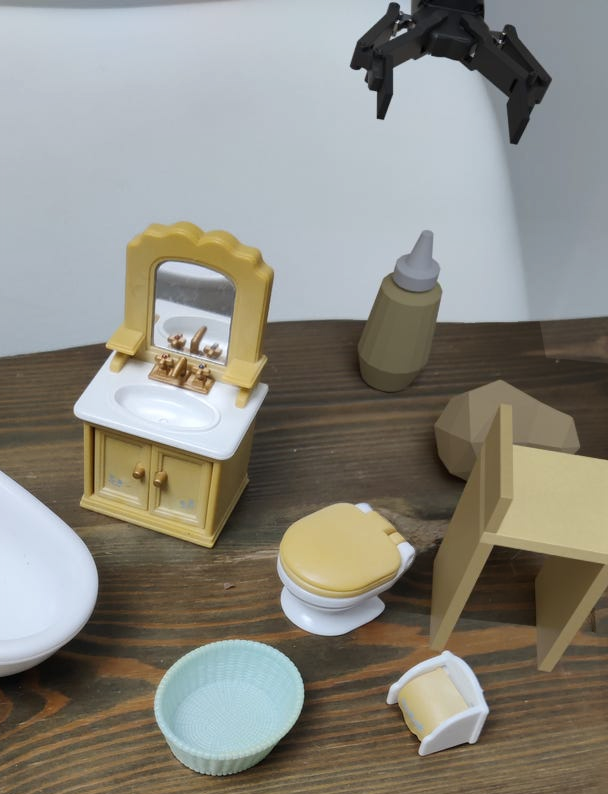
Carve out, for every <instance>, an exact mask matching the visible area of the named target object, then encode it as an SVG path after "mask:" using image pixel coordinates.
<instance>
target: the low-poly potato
mask: <svg viewBox="0 0 608 794" xmlns="http://www.w3.org/2000/svg"><path fill="white" fill-rule="evenodd" d="M500 404H506V405H511V406H512V431H513V445H518V446H524V447H530V448H536V449H542V450H548V451H554V452H560V453H567V454H573V455H576V453H577V452H578V450H579V449H581V444H580V440H579V436H578V433H577V429H576V424H575V420H574V417H572V416H571V415H570V414H567V413H565V412H562V411H560V410H557V409H555V408H553V407H551V406H549V405H547V404H545V403H543V402H541V401H540V400H538V399H536V398H535V397H532V396H530V395H529V394H527V393H525V392H524V391H522V390H520V389H518V388H516V387H515V386H514V385H512V384H509V383H508V382H507V381H504V380H502V379H498V380H496V381H492V382H490V383H487V384H485V385H481V386H479V387H476V388H474V389H471V390H468V391H466V392H463V393H460V394H458V395H455V396H453V397H451V398H450V400H449V401H448V402H447V404H446V406H445V408H444V409H443V411H442V412H441V414H440V415H439V417H438V419H437V420H436V421H435V423H434V425H433V427H434V429H433V430H434V435H435V440H436V447H437V453H438V457H439V459H440V460H441V462H442V463H443V465H444V466H445V468H446V469H447V470H448V472H449V474H451V475H452V476H455V477H458V478H460V479H462V480H464V481H466V482H467V481H468V479H469V477H470V474H471V472H472V469H473V467H474V465H475V462H476V460H477V458H478V455H479V453H480V451H481V448H482V446H483V443H484V441H485V439H486V436H487V434H488V432H489V429H490V427H491V425H492V422H493V420H494V417H495V415H496V413H497V410H498V408H499V406H500Z"/></svg>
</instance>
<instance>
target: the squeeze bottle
mask: <svg viewBox="0 0 608 794" xmlns="http://www.w3.org/2000/svg"><path fill="white" fill-rule="evenodd" d="M433 248H434V232H433V231H432V230H429V229H424V230H423V231H421V233H420V235H419V237H418V238H417V241H416V242H415V244H414V245H413V248H412V250H411V251H410V253H407V254H403V255H401V256H400V257H398V258H397V259H396V262H395V265H394V268H393V272H392V271H391V272H390V273H388V274H387V275H385V276H384V277H383V278H382V281H381V283H380V286H379V289H378V291H377V294H376V296H375V299H374V301H373V304H372V306H371V309H370V312H369V315H368V318H367V320H366V322H365V326H364V328H363V330H362V333H361V336H360V338H359V342H358V344H357V353H358V362H359V370H360V374H361V378H362V380H363V381H364V382H365V383H366V384H367V385H368V386H370V387H371V388H374V389H376V390H378V391H381V392H382V391H383V392H388V393H389V392H392V393H393V392H399V391H402V390H405V389H406V388H408V387H409V386H410V385H412V383H413V381H415V379H416V378H417V376H418V375H419V374H420V373H421V372H422V370H423V369H424V368H425V367H426V365H427V364H428V362H429V358H430V354H431V350H432V345H433V340H434V335H435V331H436V330H435V329H436V325H437V321H438V316H439V315H438V314H439V310H440V306H441V301H442V296H443V288H442V286H441V284H440V282H438V279H439V276H440V272H441V266H440V263H439V262H437V260H435V259H434V258H433V251H434V249H433Z"/></svg>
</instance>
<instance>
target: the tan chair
mask: <svg viewBox="0 0 608 794" xmlns="http://www.w3.org/2000/svg"><path fill="white" fill-rule="evenodd" d="M494 546H500V547H505V548H511V549H517V550H523V551H529V552H534V553H540V554H546V555H548V556H547V558H546V559H545V561H544V563H543V565H542V567H541V568H540V570H539V572H538V574H537V576H536V577H535V580H534V591H535V592H534V594H535V596H534V597H535V599H534V600H535V629H536V630H535V632H536V664H537V671H542V672H547V673H551V672H552V671H553V670H554V668H555V666H556V665H557V663H558V662H559V661H560V659H561V657H562V656H563V654H564V653H565V651H566V650H567V648H568V647H569V645H570V644H571V642H572V641H573V639H574V637H575V636H576V635H577V633H578V632H579V630H580V629H581V627H582V626H583V624H584V622H585V621H586V620H587V618H588V616H589V615H590V613H591V612H592V610H593V609H594V607H595V606H596V604H597V603H598V601H599V600H600V598H601V597H602V595H603V594H604V592H605V591H606V589H607V587H608V459H602V458H596V457H591V456H584V455H578V454H574V455H573V454H567V453H560V452H554V451H548V450H542V449H536V448H530V447H524V446H518V445H513V431H512V406H511V405H506V404H500V406H499V408H498V410H497V413H496V415H495V417H494V420H493V422H492V425H491V427H490V429H489V432H488V434H487V436H486V439H485V441H484V443H483V446H482V448H481V451H480V453H479V455H478V458H477V460H476V462H475V465H474V467H473V469H472V472H471V474H470V477H469V479H468V481H466V484H465V486H464V489H463V491H462V493H461V496H460V498H459V501H458V503H457V505H456V508H455V510H454V512H453V515H452V517H451V519H450V522H449V524H448V526H447V529H446V531H445V533H444V536H443V538H442V541H441V543H440V546H439V548H438V550H437V553H436V555H435V557H434V561H433V566H432V567H433V568H432V586H431V590H432V591H431V603H430V604H431V606H430V625H429V626H430V627H429V645H428V649H429V650H430V651H435V652H441V653H442V652H443V651H444V649H445V647H446V644H447V643H448V642H449V641H448V640H449V638H450V636H451V635H452V633H453V630H454V628H455V626H456V624H457V622H458V620H459V618H460V616H461V614H462V613H463V609H464V608H465V606H466V603H467V601H468V599H469V598H470V595H471V593H472V592H473V589H474V588H475V585H476V583H477V580H478V578H479V577H480V575H481V572H482V571H483V569H484V566H485V564H486V563H487V561H488V558H489V557H490V554H491V553H492V551H493V548H494Z"/></svg>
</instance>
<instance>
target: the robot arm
mask: <svg viewBox="0 0 608 794" xmlns="http://www.w3.org/2000/svg"><path fill="white" fill-rule="evenodd" d="M485 4H486V3H485V0H410V14H408V13H405V12H404V11H402V10H401V4H400V3H398V2H396V1H391V2H389V3H388V7H387V9H386V13H385V14H384V15H383V16H382V17H381V18H380V19H379V20H378V21H377V22H376V23H375V24H374V25H372V26H371V27H370V28H369V30H367V31H366V32H365V33H364V34H363V35H362V36H360V38H359V39H358V40H356V44H355V47H354V50H353V53H352V57H351V60H350V63H349V68H350V69H352V70H354V71H361V69H364V70H365V71H366V73H365V76H364V83H366V84H367V88H368V90H369V91H370V92H371V91H372V92H375V93H376V120H379V121H385V118H386V116H387V113H388V110H389V107H390V104H391V102H392V99H393V96H394V68H396V67H399V66H400V65H402V64H405V63H406V62H408V61H410V60H413V61H417V60H419V59H421V58H423V57H424V56H427V55H428V56H430V57H434V58H446V59H448V60H451V61H455V62H459V63H460V64H461V65H462V66H463V67H465V68H466V69H467V70H468V71H469V72H475V71H477V72H478V73H479V74H480V75H482V76H483V78H485V79H486V80H487V81H488V82H490V83H491V84H492V85H493V86H495V88H497V89H498V90H499V91H501V93H502V94H504V96H506V97H508V100H507V102H506V104H505V105H506V115H507V124H508V137H509V144H510V145H515V146H518V144H519V142H520V141H521V139H522V137H523V135H524V133H525V131H526V128H527V127H528V124H529V122H530V120H531V117H530V116H531V114H532V112H533V110H534V108H535V106H536V105H541V103H542V102H543V99H544V97H545V95H546V93H547V91H548V89H549V87H550V85H551V84H552V81H553V78H552V77H551V75H550V74H549V73H548V71H546V69H545V68H544V67H543V65H542V64H541V63H540V62H539V61H538V60H537V58H536V57H535V56H534V55H533V53H532V52H531V51H530V50H529V49H528V48H527V46H526V45H525V44H524V42H523V41H522V40H521V39H520V37H519V35H518V32H517V28H516V26H515V25H512V24H510V23H507V24H504V25H503V29H502V31H499V30H490V27H489V25H488V24H487V23H486V22H485V16H486V15H485V14H486V13H485V11H486V7H485ZM404 29H406V31H405V32H403V33H401V34H399V35H398V33H399V32H401V31H402V30H404ZM397 35H398V36H397ZM392 37H393V38H392Z"/></svg>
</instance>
